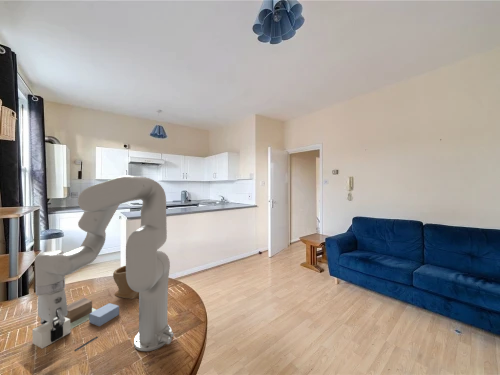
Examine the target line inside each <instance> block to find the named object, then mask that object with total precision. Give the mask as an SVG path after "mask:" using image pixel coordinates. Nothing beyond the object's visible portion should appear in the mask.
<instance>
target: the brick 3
mask: <svg viewBox="0 0 500 375" xmlns="http://www.w3.org/2000/svg"><path fill="white" fill-rule="evenodd" d="M119 315H120V306H119V305H118V304H114V303H110V302H108V303H107V304H105V305H103V306H101V307H99V308H97V309H96V310H95V311H93V312H92V313H90V314H89V320H88V321H89V324H92V325H95V326H98V327H101V326H103V325H104V324H106V323H107V322H109V321H111V320H112V319H114V318H116V317H117V316H119Z"/></svg>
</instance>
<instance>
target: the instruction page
mask: <svg viewBox="0 0 500 375" xmlns="http://www.w3.org/2000/svg"><path fill="white" fill-rule="evenodd" d="M97 339H99V336H95V337H93V338H92V339H90V340H89V341H87V342H85V343H83V344H82V345H80V346H79V347H76V348H75V349H74V350H73V351H74V352H77V351H79V350H80V349H82V348H84V347H86V346H87V345H88V344H90V343H92V342H94V341H95V340H97Z"/></svg>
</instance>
